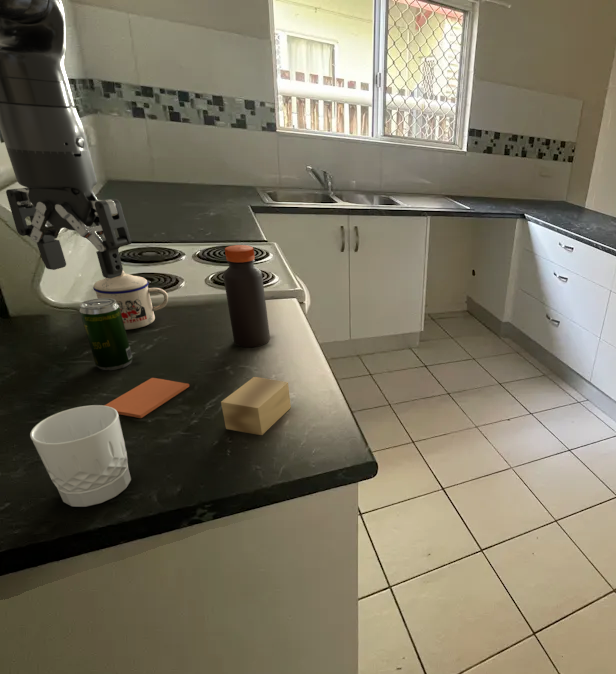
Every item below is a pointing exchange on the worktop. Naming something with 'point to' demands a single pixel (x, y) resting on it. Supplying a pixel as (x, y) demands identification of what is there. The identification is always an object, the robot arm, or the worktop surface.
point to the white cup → (84, 454)
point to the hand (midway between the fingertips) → (85, 272)
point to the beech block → (256, 405)
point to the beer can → (106, 333)
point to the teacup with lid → (131, 298)
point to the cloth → (146, 397)
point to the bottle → (245, 297)
